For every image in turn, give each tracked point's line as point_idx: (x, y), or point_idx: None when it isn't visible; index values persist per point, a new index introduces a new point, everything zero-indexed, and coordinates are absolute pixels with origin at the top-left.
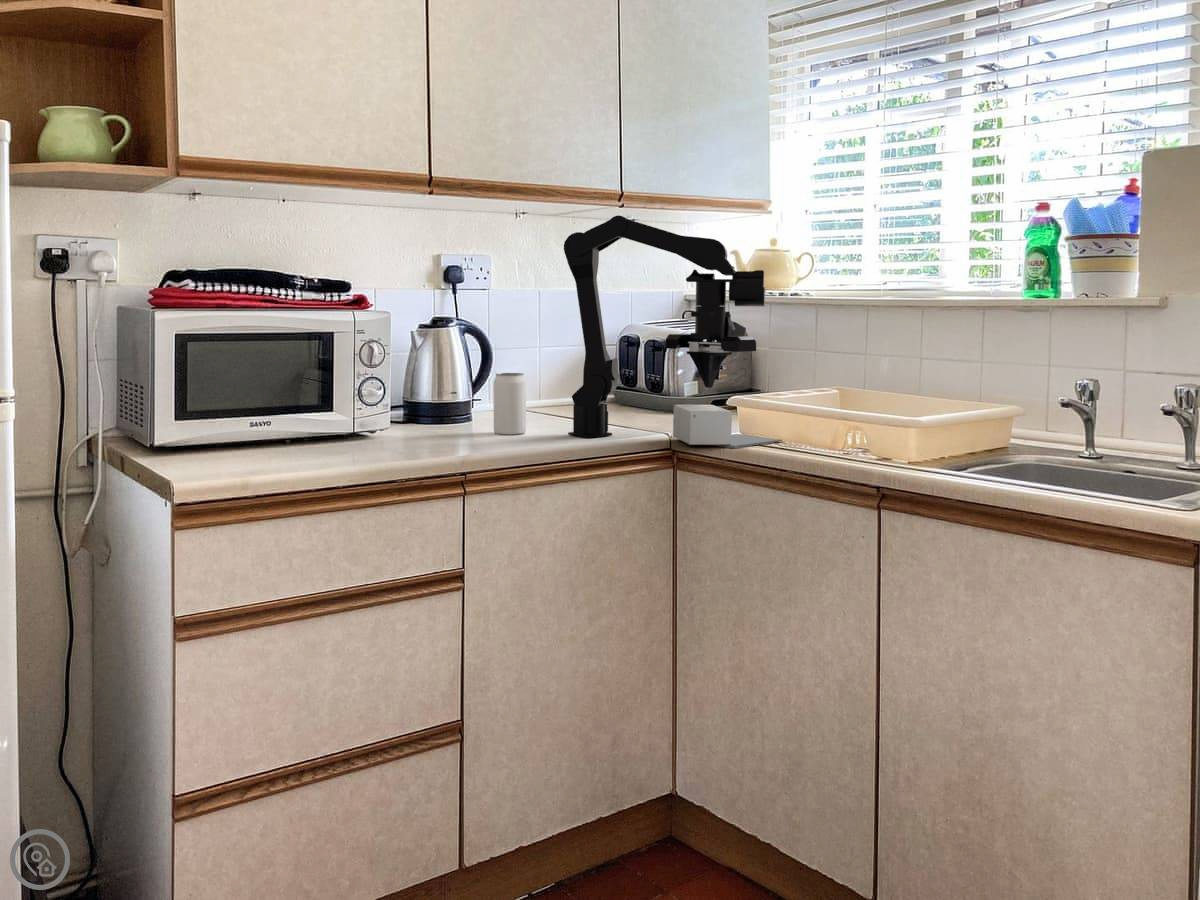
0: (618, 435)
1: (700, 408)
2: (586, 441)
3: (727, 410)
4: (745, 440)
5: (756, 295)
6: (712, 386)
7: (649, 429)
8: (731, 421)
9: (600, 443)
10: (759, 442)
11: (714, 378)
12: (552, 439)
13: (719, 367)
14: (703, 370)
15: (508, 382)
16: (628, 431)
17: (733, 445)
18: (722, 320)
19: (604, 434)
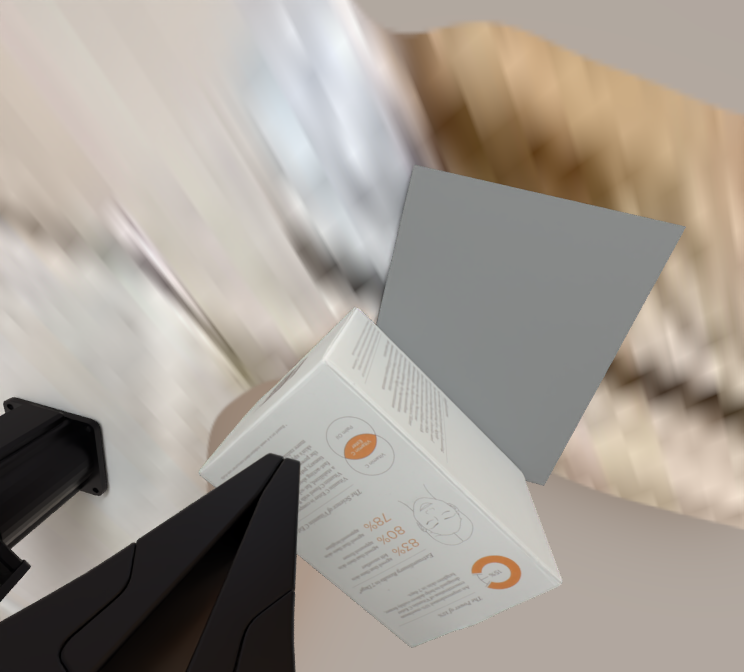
0: (95, 396)
1: (389, 561)
2: (143, 526)
3: (527, 563)
4: (530, 350)
5: None
6: (299, 463)
7: (16, 188)
8: (547, 543)
9: None
10: (603, 372)
11: (296, 526)
12: (71, 530)
13: (292, 640)
14: (191, 651)
15: None
16: (30, 293)
17: (536, 479)
18: None
19: (98, 452)
